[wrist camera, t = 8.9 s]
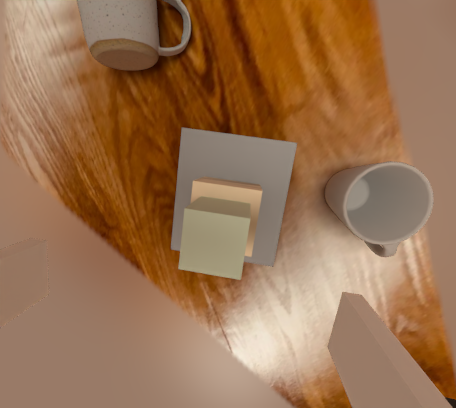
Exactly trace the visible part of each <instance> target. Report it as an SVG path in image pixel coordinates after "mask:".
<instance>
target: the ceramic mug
mask: <svg viewBox="0 0 456 408" xmlns="http://www.w3.org/2000/svg"><path fill="white" fill-rule="evenodd" d="M163 1H165V2H167V3H169V4H171V5H172V6H174V7H175V8H176V9H177V10H178V11H179V12H180V13H181V15H182V17H183V20H184V22H183V25H184V30H183V35H182V42H181V44H180V45H178V46H176V47H171V48H161V47H160V44H159V29H158V21H157V1H156V0H77V3H78V7H79V12H80V16H81V21H82V26H83V31H84V35H85V39H86V42H87V44H88V47H89V50H90V52H91V54H92V56H93V57H94V58H95V59H96V60H97V61H98V62H100V63H101V64H103V65H105V66H108V67H111V68H114V69H120V70H144V69H148V68H150V67H152V66H153V65H155V64H156V62H157V61H158V58H159V56H160V55H162V56H172V55H176V54H179V53H180V52H182V51H183V50H184V49H185V47H186V46H187V44H188V41H189V38H190V34H191V20H190V15H189V12H188V10H187V8H186V7H185V5H184V4H183V3H182V2H181V1H180V0H163Z"/></svg>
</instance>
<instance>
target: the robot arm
mask: <svg viewBox="0 0 456 408" xmlns="http://www.w3.org/2000/svg"><path fill="white" fill-rule="evenodd" d="M47 295H49V278H48V255H47V241H46V240H40V239H35V238H29V239H27V240H24V241H21V242H19V243H16V244H13V245H11V246H8V247H5V248H3V249H0V328H1V327H2V326H4V325H5V324H7V323H8V322H9V321H11V320H12V319H14V318H15V317H17V316H18V315H20V314H21V313H23V312H24V311H25V310H27V309H28V308H30V307H31V306H33V305H34V304H36V303H37V302H39V301H40V300H41V299H43V298H44V297H46V296H47ZM328 349H329V352H330V354H331V357H332V359H333V362H334V364H335V366H336V369H337V371H338V374H339V376H340V379H341V381H342V384H343V386H344V389H345V391H346V393H347V396H348V398H349V401H350V403H351V406H352V408H456V400H455V399H450V398H445V397H444V396H443V395H442V394H441V393H440V391H439V390H438V389H437V388H436V386H435V385H434V384H433V383H432V381H431V380H430V379H429V378H428V376H427V375H426V374H425V373H424V372H423V370H422V369H421V368H420V367H419V365H418V364H417V363H416V362H415V360H414V359H413V358H412V357H411V355H410V354H409V353H408V352H407V350H406V349H405V348H404V347H403V346H402V344H401V343H400V342H399V341H398V339H397V338H396V337H395V336H394V334H393V333H392V332H391V331H390V329H389V328H388V327H387V326H386V325H385V323H384V322H383V321H382V320H381V318H380V317H379V316H378V315H377V313H376V312H375V311H374V310H373V308H372V307H371V306H370V305H369V303H368V302H367V301H366V300H365V299H364V297H363V296H362V295H359V294H353V293H347V292H343V293H342V296H341V300H340V304H339V307H338V311H337V314H336V318H335V322H334V325H333V329H332V333H331V336H330V340H329V343H328Z"/></svg>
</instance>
